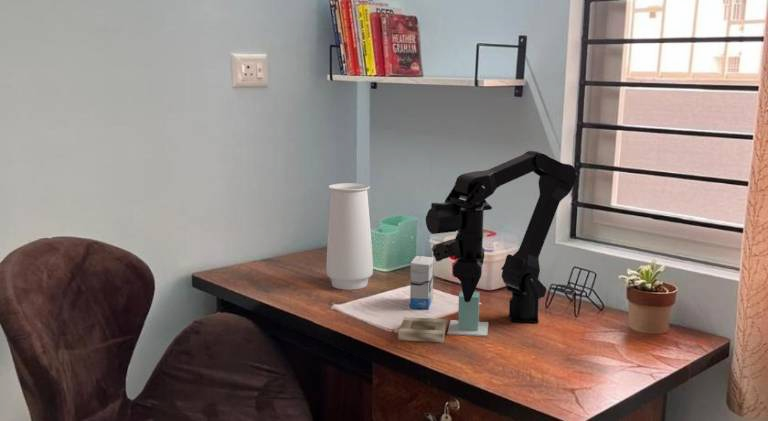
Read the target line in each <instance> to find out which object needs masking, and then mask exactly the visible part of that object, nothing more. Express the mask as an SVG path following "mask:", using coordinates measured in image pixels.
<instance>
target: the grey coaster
mask: <svg viewBox="0 0 768 421" xmlns="http://www.w3.org/2000/svg"><path fill="white" fill-rule="evenodd" d="M449 321H450V322H449V325H448V327H447V329H448V330H447V331H446V332H447V334H446V335H451V336H452V335H454V336H469V337H485V338H486V337H488V332H489V322H488V321H479V326H478V331H468V330H458V319H457V320H456V319H454V320H453V319H450V320H449Z"/></svg>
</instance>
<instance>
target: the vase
mask: <svg viewBox="0 0 768 421" xmlns="http://www.w3.org/2000/svg"><path fill="white" fill-rule="evenodd" d="M370 188H371V186H370V185H369V184H364V183H356V182H354V183H353V182H352V183H351V182H349V183H347V182H345V183H344V182H343V183H342V182H341V183H334V184H330V185H328V189H329V190H330V202H329V215H328V229H327V230H328V231H327V245H326V246H327V248H326V262H325V263H326V270H325V271H326V275H327V277H328V278H330V281H331V285H332V287H333V288H336V289H338V290H345V291H346V290H347V291H349V290H352V291H353V290H359V289H364V288H366V287H367V286H368V282H369V279H370V277H372V275H373V274H374V266H373V264H374V263H373V261H374V260H373V247H372V232H371V231H372V230H371V219H370V209H369V195H368V190H370Z"/></svg>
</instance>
